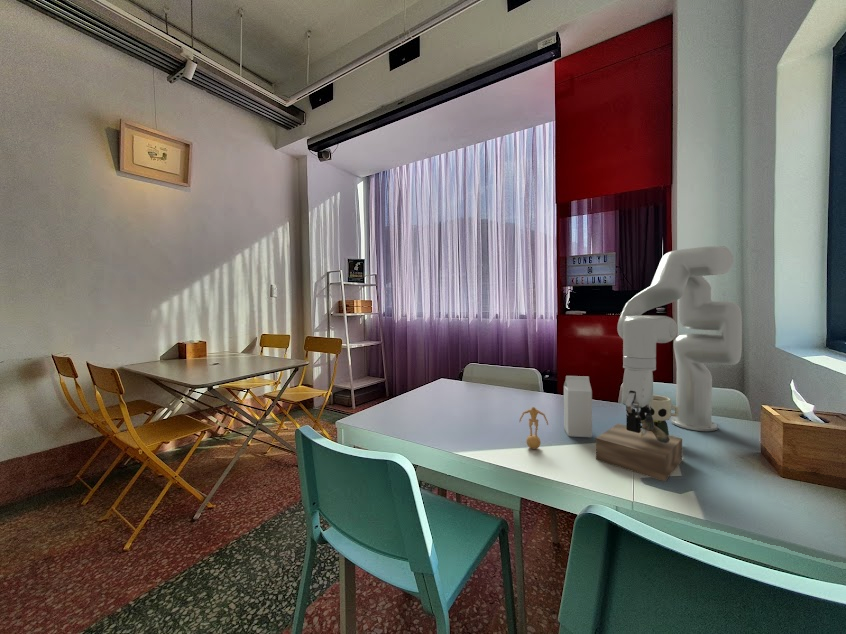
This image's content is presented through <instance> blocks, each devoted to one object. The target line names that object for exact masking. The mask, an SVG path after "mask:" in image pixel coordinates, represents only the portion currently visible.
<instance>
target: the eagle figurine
mask: <svg viewBox="0 0 846 634" xmlns="http://www.w3.org/2000/svg"><path fill="white" fill-rule="evenodd" d="M645 417H646V418H645V420H641V429H642V434H641V437H642V436H643V435H645V434H646V431H647V430H650V431H652V432H653V433H654V435H655V437H656V439H657V441H659V442H661V443H662V442H663V443H667V442H669V440H670V439H669V437H668V435H667V434H666V433H665V432H663V431H662V430H661V429H659V428H658V427H656V426H655V425H654V420H653V417H652V415H651V414H648V413H645ZM639 418H641V417H640V416H639Z"/></svg>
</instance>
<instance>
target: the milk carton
mask: <svg viewBox="0 0 846 634" xmlns="http://www.w3.org/2000/svg"><path fill="white" fill-rule="evenodd" d="M563 429H564V431H565V433H566V434H567V437H575V438H576V437H577V438H578V437H579V438H592V436H593V390H592V386H591V383H590V376H584V375H583V376H580V375H579V376H578V375H566V376H565V381H564V383H563Z"/></svg>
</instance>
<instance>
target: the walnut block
mask: <svg viewBox="0 0 846 634" xmlns="http://www.w3.org/2000/svg"><path fill="white" fill-rule="evenodd" d="M641 434H642V428H641V432H640V433H636V432H632V431H628V430H627V429H626V425H625V424H621V423H617V424H615V425H614V426H612V427H610V428H609V429H608V430H606V431H605V432H603V433H601V434H600V435H598V436H596V437H595V460H597V461H599V462H603V463H606V464H609V465H612V466H616V467H618V468H621V469H624V470H627V471H630V472H634V473H636V474H640V475H643V476H646V477H650V478H652V479H656V480H659V481H661V482H666V481H667V480H668V478H670V476H671V475H672V474H673V472H674V471H675V470H676V469H677V468H678V466H679V465H680V464H681V462H682V461H683V438H680V437H679V436H678V437H677V436H672V435H670V434H669V435H668V437H669V439H670V440H669V442H667V443H663V442H662V443H661V442H659V441H657V439H656V437H655V435H654V433H653V432H652V431H646V434H645V435H643V436H642V437H641Z"/></svg>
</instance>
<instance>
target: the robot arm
mask: <svg viewBox="0 0 846 634" xmlns="http://www.w3.org/2000/svg"><path fill="white" fill-rule="evenodd" d="M733 255H734V254H733V252H732V251H731V249H729V247H727V246H700V247H691V248H690V247H689V248H683V249H675V250H671V251H668V252H666V253H665V254H664V255H663V256H661V259H660V260H659V264H658V266H657V267H656V268H657V269H656V271H655V273H654V276H653V278H652V281H651V283H650V286H648V287H646V288H644V289H643V290H641V291H640V292H638V293H636V294H635V295H634V296H633V297H632V298H631V299H629V300H628V301H627V302H626V303H625V304H624V306H623V308H622V311H621V313H620V316H619V318H618V322H617V326H616V327H617V328H616V329H617V330H616V331H617V333H618V335H619V337H620V338H621V339H622V341H623V342H622V343H623V344H622V347H623V348H622V355H623V356H622V363H623V364H622V368H623V369H624V373H623V377H622V378H623V379H622V390H621V391H622V396H621V404H622V405H624V406H625V411H626V412H625V414H626V429H627V430H628V431H632V432H636V433H640V432H641V429H642V428H641V425H642V423H641V420H645V418H646V417H645V413H648V414H651V404H650V402H652V400H653V395H654V375H653V372H655V371H656V370H657V343H658V344H666V343H669V342H672V341H673V351H674V357H675V363H676V364H675V365H676V366H675V367H676V396H675V397H676V401H675V403H676V405H675V406H678V407H679V415H678V416H677V417H676V416H671V418H670V422H671V423H672V424H673V425H675V426H677V427H679V428H683V429H686V430H690V431H691V430H692V431H698V432H714V431H717V430H718V424H717V423H715V422H713V421H712V416H713V415H712V409H713V404H712V402H713V401H712V399H713V397H712V396H713V395H712V394H713V391H712V390H713V377H712V372H711V371H710V370H709V368H708V367H707V366H706V365H705V364H716V365H723V366H724V365H726V366H733V365H737V364H738V363H739V362H740V361H741V358H742V351H743V350H742V349H743V345H742V344H743V342H742V341H743V339H742V338H743V335H742V334H743V318H742V315H743V314H742V310H741V307H740V306H739V305H738V304H737V303H736V302H733V301H725V300H724V301H721V300H720V301H713V300H712V286H711V284H710V283H709V282H708V280H707V279H705V278H704V277H705V276H706V277H707V276H718V275H719V276H720V275H724V274H726V273H728V272H729V271H730V270H731V268H732V266H733V264H734V256H733ZM703 276H704V277H703ZM676 301H678V313H679V314H678V317H679V324H680V326H682V328H683V329H688V330H697V331H717V332H720V334H708V333H695V332H694V333H690V332H689V333H688V332H687V333H681V334H680V335H678V332H679V327H678V325H677V322H676V321H675V320H674V318H672V317H670V316H667V315H647V314H646V315H643V314H644V313H646V312H647V311H650V310H653V309H655V308H659V307H662V306H665V305H668V304H671V303H674V302H676ZM677 335H678V336H677ZM637 404H638V405H637ZM639 416H640V417H641V418H639Z"/></svg>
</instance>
